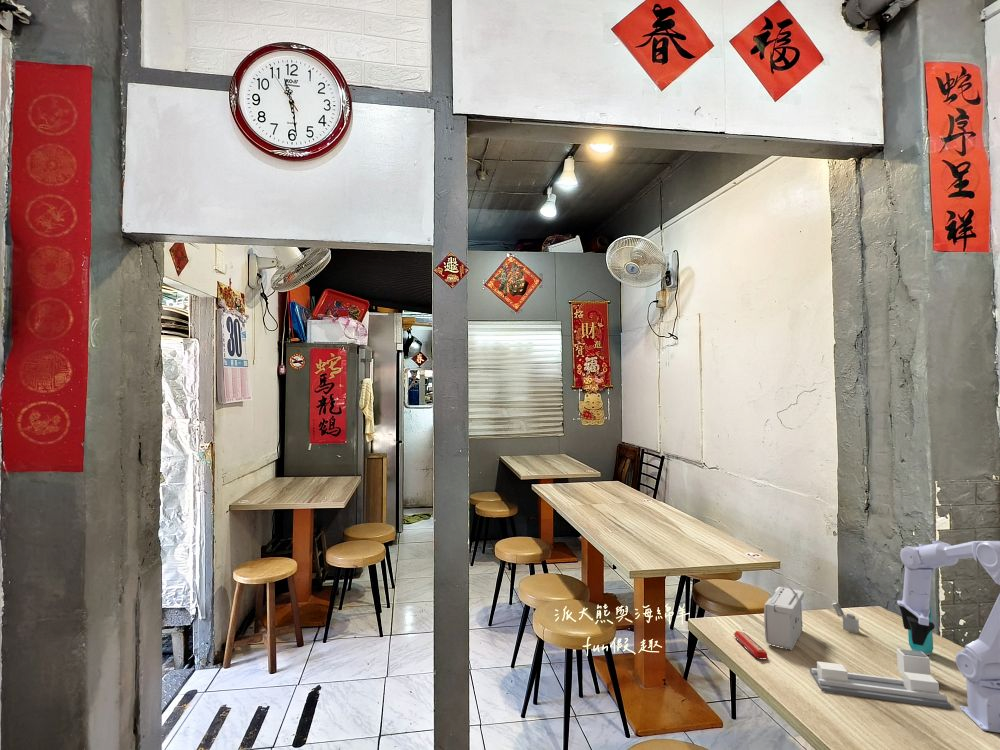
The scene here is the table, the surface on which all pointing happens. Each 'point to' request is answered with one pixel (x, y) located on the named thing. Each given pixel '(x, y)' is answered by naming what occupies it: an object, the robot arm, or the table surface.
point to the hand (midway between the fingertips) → (913, 636)
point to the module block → (912, 662)
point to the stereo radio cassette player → (783, 617)
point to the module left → (832, 671)
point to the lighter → (847, 619)
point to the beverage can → (928, 643)
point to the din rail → (880, 689)
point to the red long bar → (750, 645)
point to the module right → (920, 683)
